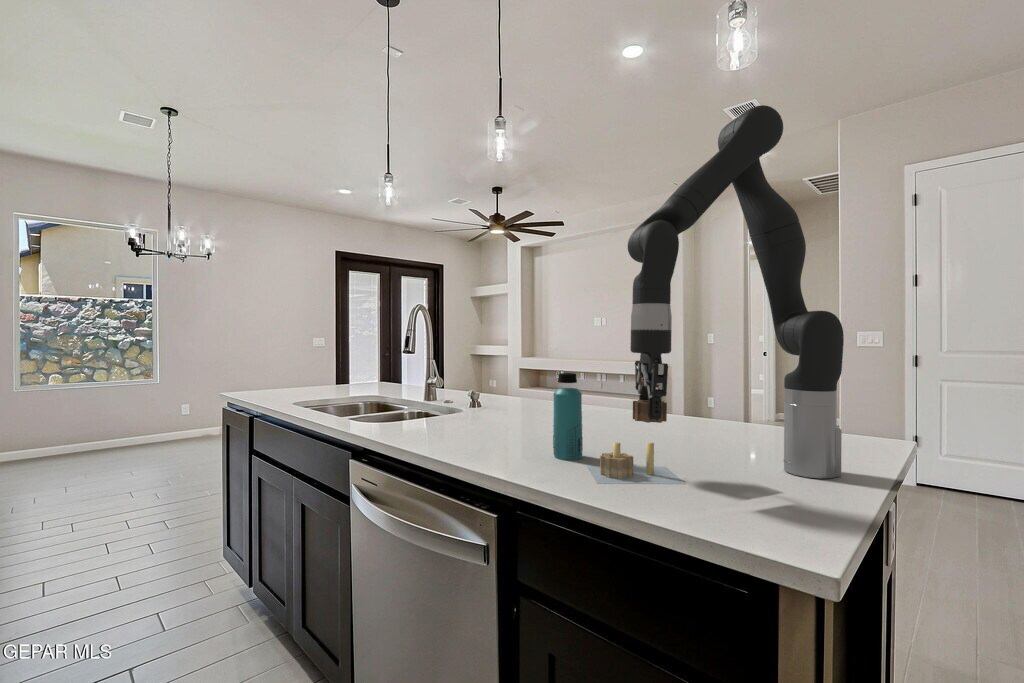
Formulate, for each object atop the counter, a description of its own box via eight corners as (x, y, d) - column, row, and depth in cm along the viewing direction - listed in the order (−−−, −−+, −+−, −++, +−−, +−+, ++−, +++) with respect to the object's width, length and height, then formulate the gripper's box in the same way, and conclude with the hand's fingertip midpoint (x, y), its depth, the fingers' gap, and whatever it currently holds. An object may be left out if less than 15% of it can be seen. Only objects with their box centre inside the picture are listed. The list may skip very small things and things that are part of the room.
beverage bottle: (581, 468, 103) (582, 374, 103) (550, 466, 105) (551, 373, 104) (583, 460, 110) (583, 372, 110) (554, 459, 111) (554, 371, 111)
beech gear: (620, 468, 97) (620, 451, 97) (639, 476, 91) (639, 458, 91) (594, 471, 95) (594, 453, 95) (612, 480, 89) (612, 461, 89)
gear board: (665, 473, 99) (665, 437, 99) (686, 492, 87) (686, 450, 87) (586, 473, 99) (586, 436, 99) (596, 491, 87) (597, 450, 87)
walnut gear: (660, 417, 96) (660, 400, 96) (670, 423, 90) (670, 404, 90) (629, 417, 96) (630, 399, 96) (637, 422, 90) (638, 403, 90)
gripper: (683, 327, 86) (682, 422, 86) (659, 329, 100) (657, 411, 100) (641, 327, 86) (639, 422, 86) (622, 329, 100) (621, 410, 100)
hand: (649, 415), depth 93 cm, fingers closed on walnut gear, 6 cm apart
